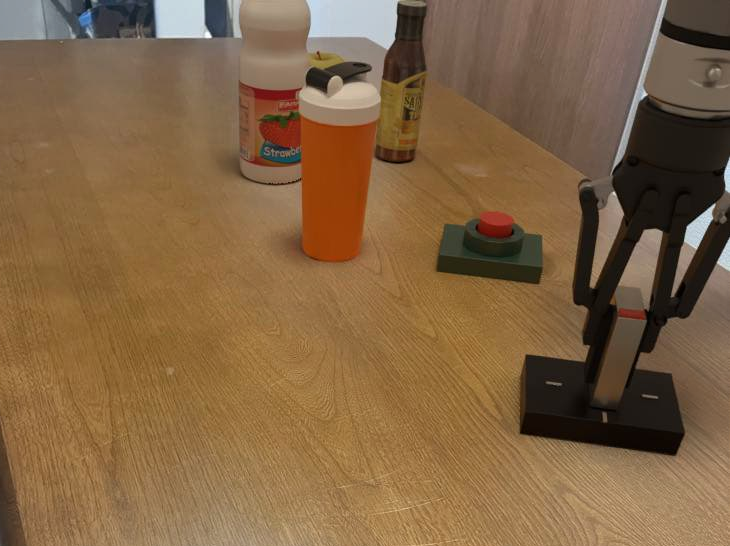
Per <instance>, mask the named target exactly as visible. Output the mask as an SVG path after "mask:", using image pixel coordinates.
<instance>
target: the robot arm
mask: <svg viewBox="0 0 730 546" xmlns="http://www.w3.org/2000/svg"><path fill="white" fill-rule="evenodd" d="M642 87H643V90H644V92H645V93H646V94H647V95H645V96H643V98H642V99H640V100H638V103H637V107H636V110H635V114H634V117H633V121H632V124H631V129H630V132H629V136H628V139H627V143H626V148H625V150H624V153H623V156H622V157H621V159H620V161H619V162H618V163H617V164H616V165H615V166H614V168H613V169H612V171H611V174H610V175H607V176H604V177H601V178H598V179H596V180H593V179H590V178H587V177H586V178H582V179H581V180H580V181H578V184H577V192H578V201H579V205H580V209H581V218H580V225H579V232H578V241H577V245H576V246H577V247H576V255H575V261H574V270H573V278H572V285H571V290H572V293H571V294H572V302H573V304H574V305H575V306H578V307H584V308H586V309H587V311H586V316H585V319H584V323H583V326H582V328H581V339H582V345H583V346H589V347H588V350H587V354H586V357H585V360H584V362H585V364H584V380H585V383H591V384H593V382H594V379H595V376H596V373H597V369H598V366H599V363H600V360H601V356H602V353H603V350H604V347H605V343H606V340H607V337H608V334H609V330H610V327H611V324H612V321H613V315H612V308H611V304H610V302H611V299H612V297H613V295H614V293H615V290H616V288H617V286H618V285H620V282H621V279H622V277H623V274H624V273H625V271H626V268H627V265H628V263H629V261H630V259H631V256H632V255H633V252H634V250H635V247H636V245H637V244H638V243H639V242H640V240H641V238H642V236H643V234H644V232H645V231H648V230H658V231H660V232H662V233H661V234H662V235H661V240H660V244H659V251H658V255H657V260H656V264H655V265H656V266H655V271H654V277H653V280H652V281H653V282H652V286H651V292H650V297H649V301H648V302H649V304H648V305H649V307H648V308H644V309H645V314H646V319H647V322H646V325H645V328H644V331H643V334H642V337H641V340H640V343H639V346H638V349H637V352H636V355H635V358H634V361H633V364H632V367H631V370H630V373H629V376H628V379H627V382H626V385H625V388H627V389H628V388H629V385H630V382H631V380H632V377H633V374H634V371H635V369H637V365H638V363H639V362H638V361H639V360H640V356H641V353H642V354H651V353H652V352H653V351H654V349H655V348H656V344H657V342H658V339H659V336H660V332H661V331H662V328H663V327H665V326H666V325H667V324H668V322H669V321H668V320H670V319H674V318H675V319H676V318H678V319H679V320H684V319H687V318H689V317H690V316H691V314H692V312H693V311H694V308H695V307H696V305H697V302H698V300H699V298H700V296H701V295H702V293H703V291H704V289H705V287H706V285H707V283H708V281H709V280H710V277H711V275H712V273H713V272H714V270H715V268H716V265H717V264H718V262H719V260H720V258H721V256H722V255H723V252H724V250H725V248H726V246H727V244H728V242H729V240H730V192H729V191H728V190H727V189H726V180H725V173H726V169H727V166H728V165H729V161H730V0H666V5H665V7H664V12H663V15H662V19H661V23H660V26H659V30H658V33H657V36H656V39H655V43H654V47H653V50H652V53H651V56H650V61H649V64H648V67H647V71H646V74H645V77H644V81H643V85H642ZM612 193H615V196H616V198H617V201H618V203H619V205H620V208H621V210H622V212H623V216H622V218H621V221H620V225H619V229H618V231H617V233H616V235H615V238H614V240H613V242H612V244H611V246H610V250H609V252H608V254H607V257H606V259H605V261H604V264H603V266H602V269H601V271H600V273H599V275H598V278H597V280H596V283H595V285H594V288H593V287H592V286H591V280H592V273H593V268H594V267H593V266H594V259H595V253H596V247H597V239H598V234H599V225H600V213H599V211H600V210H603V209H604V208H606V207H607V205H608V199H609V196H610V195H611V194H612ZM712 206H714V207H713V209H712V211H711V217H712V219H711V221H710V222H709V224H708V226H707V227H706V229H705V232H704V234H703V235H702V238H701V240H700V242H699V244H698V246H697V248H696V250H695V252H694V254H693V256H692V258H691V260H690V262H689V264H688V267H687V269H686V271H685V272H684V275H683V277H682V279H681V281H680V283H679V285H678V287H677V289H676V291H675V293H674V295H673V296H672V294H673V289H674V285H675V279H676V275H677V270H678V265H679V261H680V255H681V251H682V247H683V245H684V243H685V239H686V233H687V229H688V226H689V225H691V224H692V223H693V222H694V221H696V220H697V219H698V218H699V217H700V216H702V215H703V214H704V213H705V212H707V211H708V210H709V209H710V208H712Z"/></svg>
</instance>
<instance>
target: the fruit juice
mask: <svg viewBox="0 0 730 546" xmlns="http://www.w3.org/2000/svg"><path fill="white" fill-rule="evenodd" d="M238 25H239V30H240V34H241V38H242V46H241V49H240V51H239V55H238V66H237V68H238V69H237V75H238V77H237V78H238V79H237V81H238V137H239V143H238V145H239V168H240V172H241V173H242V175H243V176H244V177H245V178H247V179H249V180H251V181H254V182H257V183H263V184H269V183H271V184H270V185H282V184H281V183H283V184H289V183H288V182H290V183H293V182H292V181H294V182H297V181H299V180H301V179H302V174H301V115H300V114H299V112H298V110H299V93H300V91H301V90H302V88H303V87H304V86H305V74H306V72H307V70H308V69H309V68H310V59H309V52H308V47H307V45H308V44H307V43H308V39H309V35H310V30H311V25H312V14H311V8H310V6H309V3H308V2H307V0H241V3H240V5H239V9H238ZM300 178H301V179H300ZM298 179H299V180H298ZM296 180H297V181H296ZM272 183H273V184H272ZM278 183H279V184H278Z"/></svg>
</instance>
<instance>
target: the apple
mask: <svg viewBox="0 0 730 546" xmlns="http://www.w3.org/2000/svg"><path fill="white" fill-rule="evenodd" d="M308 54H309V59H310V67H317V68H320V69H322V70H323V69H325V68H328V67H330V66H333V65H336V64H339V63H343V62H346V61H345V59H344V58H343V57H342V56H340V55H338V54H335V53H330V52H324V51H323V52H321V51H320V50H317V51H316V52H308Z"/></svg>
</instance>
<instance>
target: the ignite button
mask: <svg viewBox="0 0 730 546" xmlns="http://www.w3.org/2000/svg"><path fill="white" fill-rule="evenodd" d="M478 218H479V224H478V230H477V231H478V232H479V233H480V234H482V235H485V236H487V237H492V238H507V237H510V236H511V234H512V229H513V224H514V223H515V219H514V217H513V216H511V215H510V214H507V213H505V212H502V211H485V212H483V213H481V214H480V215H479V217H478Z"/></svg>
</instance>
